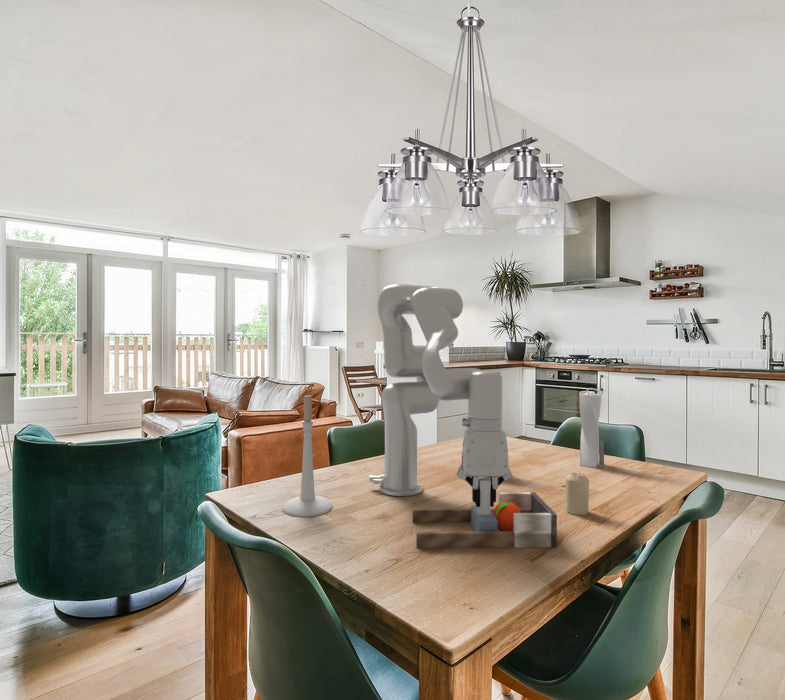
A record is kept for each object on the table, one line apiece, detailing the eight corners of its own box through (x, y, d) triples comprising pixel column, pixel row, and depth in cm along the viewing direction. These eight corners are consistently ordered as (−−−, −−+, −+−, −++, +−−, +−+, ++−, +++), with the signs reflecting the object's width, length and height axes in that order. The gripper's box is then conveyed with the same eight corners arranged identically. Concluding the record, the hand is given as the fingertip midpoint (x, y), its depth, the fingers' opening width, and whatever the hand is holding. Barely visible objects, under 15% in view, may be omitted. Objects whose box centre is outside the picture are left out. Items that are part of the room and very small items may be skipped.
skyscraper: (600, 470, 168) (602, 388, 167) (575, 467, 172) (577, 387, 172) (604, 465, 175) (605, 386, 174) (580, 462, 179) (581, 385, 179)
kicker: (479, 540, 108) (479, 485, 107) (471, 523, 118) (471, 473, 117) (497, 540, 108) (498, 485, 108) (487, 523, 118) (488, 473, 118)
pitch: (416, 547, 105) (416, 515, 105) (412, 520, 120) (412, 492, 120) (556, 547, 105) (556, 514, 105) (534, 520, 121) (534, 492, 121)
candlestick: (279, 503, 133) (279, 392, 132) (326, 497, 137) (326, 390, 137) (286, 519, 121) (286, 397, 120) (337, 513, 125) (337, 395, 125)
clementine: (508, 542, 108) (508, 510, 108) (482, 533, 113) (483, 502, 113) (528, 532, 113) (528, 502, 113) (503, 524, 118) (503, 494, 118)
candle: (582, 507, 130) (583, 470, 130) (592, 515, 125) (592, 476, 124) (562, 507, 130) (562, 470, 130) (570, 515, 124) (571, 476, 124)
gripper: (451, 428, 108) (451, 510, 109) (524, 428, 109) (523, 510, 109) (447, 422, 116) (446, 499, 116) (515, 422, 116) (514, 499, 117)
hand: (484, 504), depth 113 cm, fingers closed on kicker, 2 cm apart
